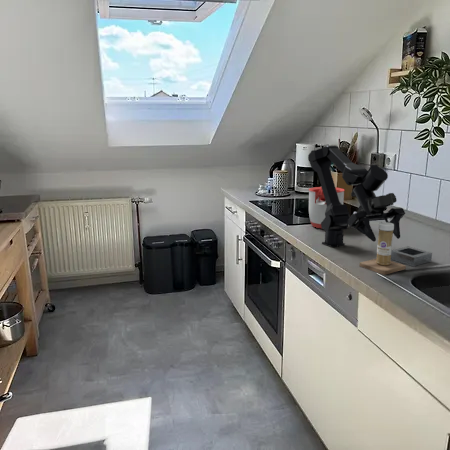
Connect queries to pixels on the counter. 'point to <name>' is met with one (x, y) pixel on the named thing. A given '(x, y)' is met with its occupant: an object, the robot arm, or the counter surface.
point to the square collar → (411, 256)
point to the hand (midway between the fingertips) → (387, 239)
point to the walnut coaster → (382, 266)
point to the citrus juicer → (320, 204)
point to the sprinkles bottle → (384, 243)
